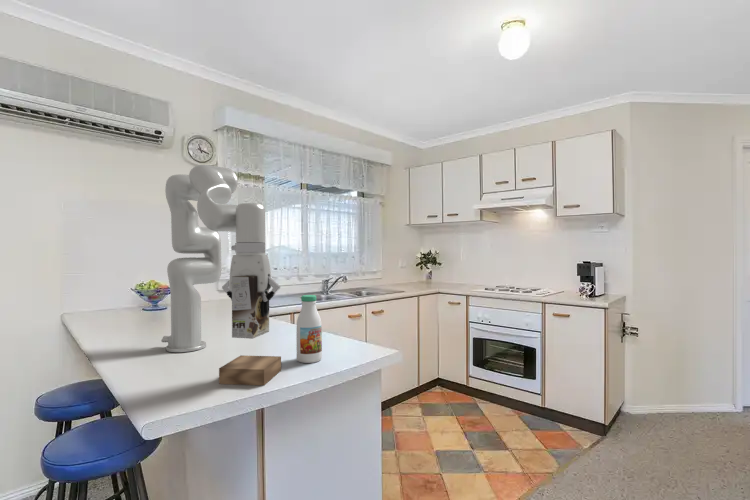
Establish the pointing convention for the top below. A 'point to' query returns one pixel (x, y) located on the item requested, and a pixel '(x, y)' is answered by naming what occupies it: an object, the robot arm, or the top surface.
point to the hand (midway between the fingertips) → (251, 315)
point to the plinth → (250, 370)
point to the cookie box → (247, 308)
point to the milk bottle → (309, 331)
